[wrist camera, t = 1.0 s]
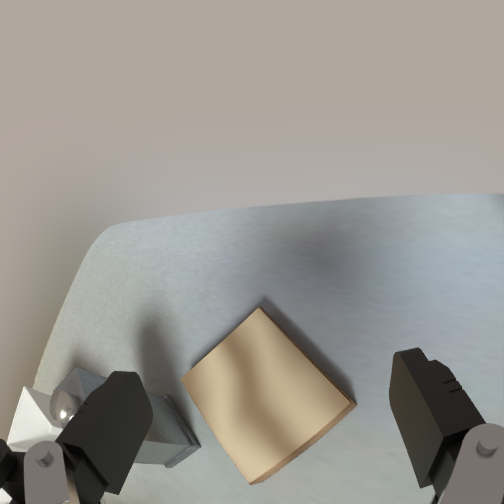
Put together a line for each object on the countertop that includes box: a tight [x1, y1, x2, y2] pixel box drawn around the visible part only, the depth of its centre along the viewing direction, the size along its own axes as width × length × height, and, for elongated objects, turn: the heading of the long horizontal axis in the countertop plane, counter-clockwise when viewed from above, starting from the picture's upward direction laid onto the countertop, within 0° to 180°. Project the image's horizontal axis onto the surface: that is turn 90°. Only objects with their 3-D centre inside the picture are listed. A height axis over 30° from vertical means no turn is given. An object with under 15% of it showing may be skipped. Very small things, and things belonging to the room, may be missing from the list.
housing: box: [50, 366, 201, 468], centre depth 25 cm, size 5×8×16 cm, turn 37°
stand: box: [180, 306, 357, 485], centre depth 28 cm, size 12×14×3 cm
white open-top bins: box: [0, 386, 63, 504], centre depth 26 cm, size 25×11×11 cm, turn 158°
